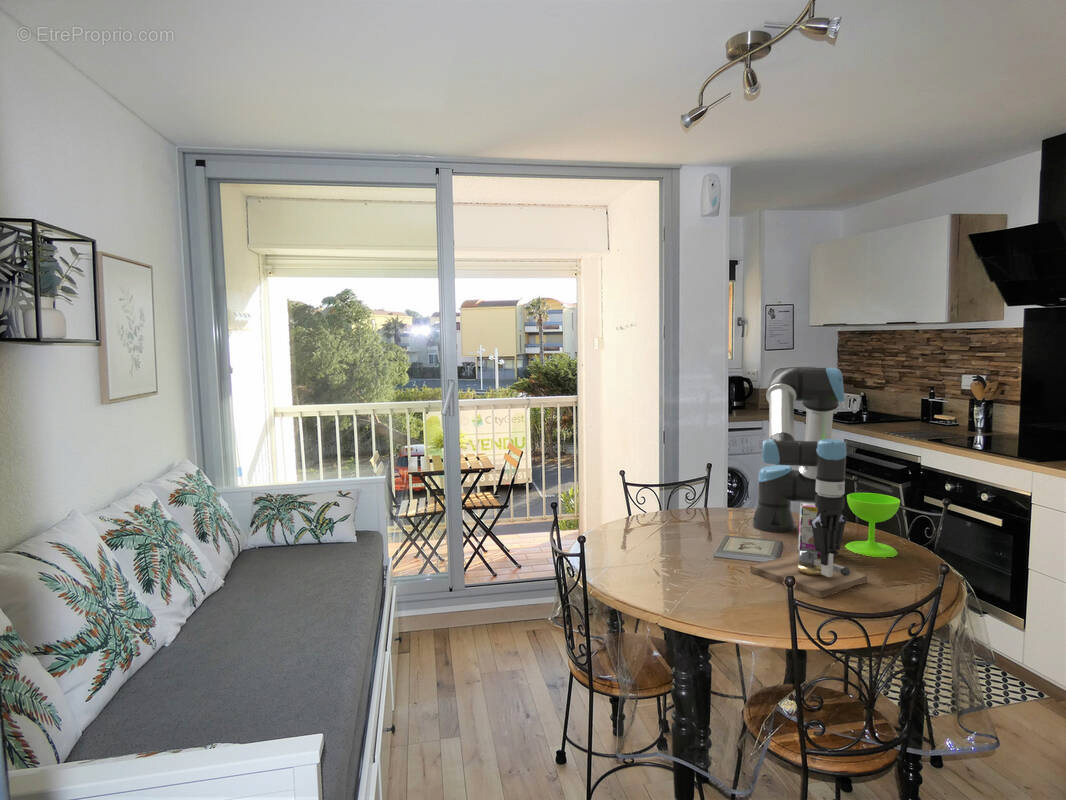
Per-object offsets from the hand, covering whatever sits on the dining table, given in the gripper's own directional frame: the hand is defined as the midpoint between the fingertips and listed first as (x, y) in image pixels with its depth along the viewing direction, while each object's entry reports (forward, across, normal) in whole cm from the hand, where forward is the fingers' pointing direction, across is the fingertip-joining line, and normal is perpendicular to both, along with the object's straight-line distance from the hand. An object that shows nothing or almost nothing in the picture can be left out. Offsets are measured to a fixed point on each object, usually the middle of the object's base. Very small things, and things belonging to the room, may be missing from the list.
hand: (826, 575), depth 186 cm
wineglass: (+4, +42, +16) cm, 45 cm away
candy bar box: (+4, +23, +23) cm, 33 cm away
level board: (+4, +2, +9) cm, 10 cm away
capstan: (+1, +3, +3) cm, 4 cm away
